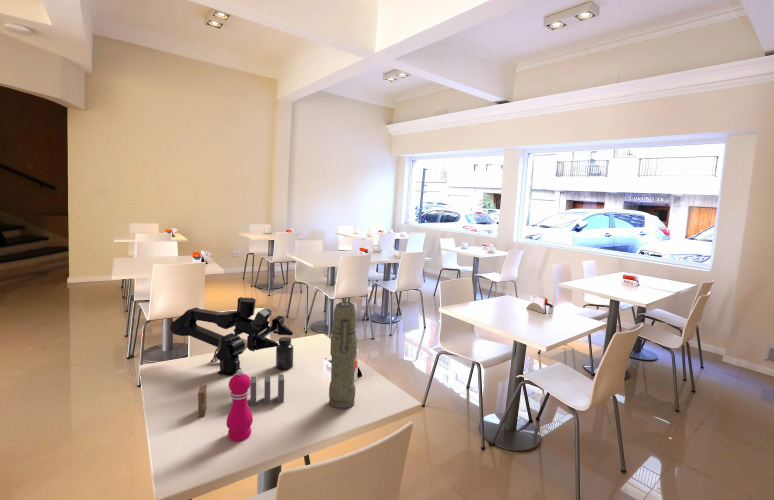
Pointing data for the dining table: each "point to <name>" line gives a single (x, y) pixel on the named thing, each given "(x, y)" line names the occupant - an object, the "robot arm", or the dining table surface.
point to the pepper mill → (239, 408)
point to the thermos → (343, 356)
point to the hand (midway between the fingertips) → (285, 339)
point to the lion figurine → (238, 355)
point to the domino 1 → (202, 401)
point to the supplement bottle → (284, 354)
